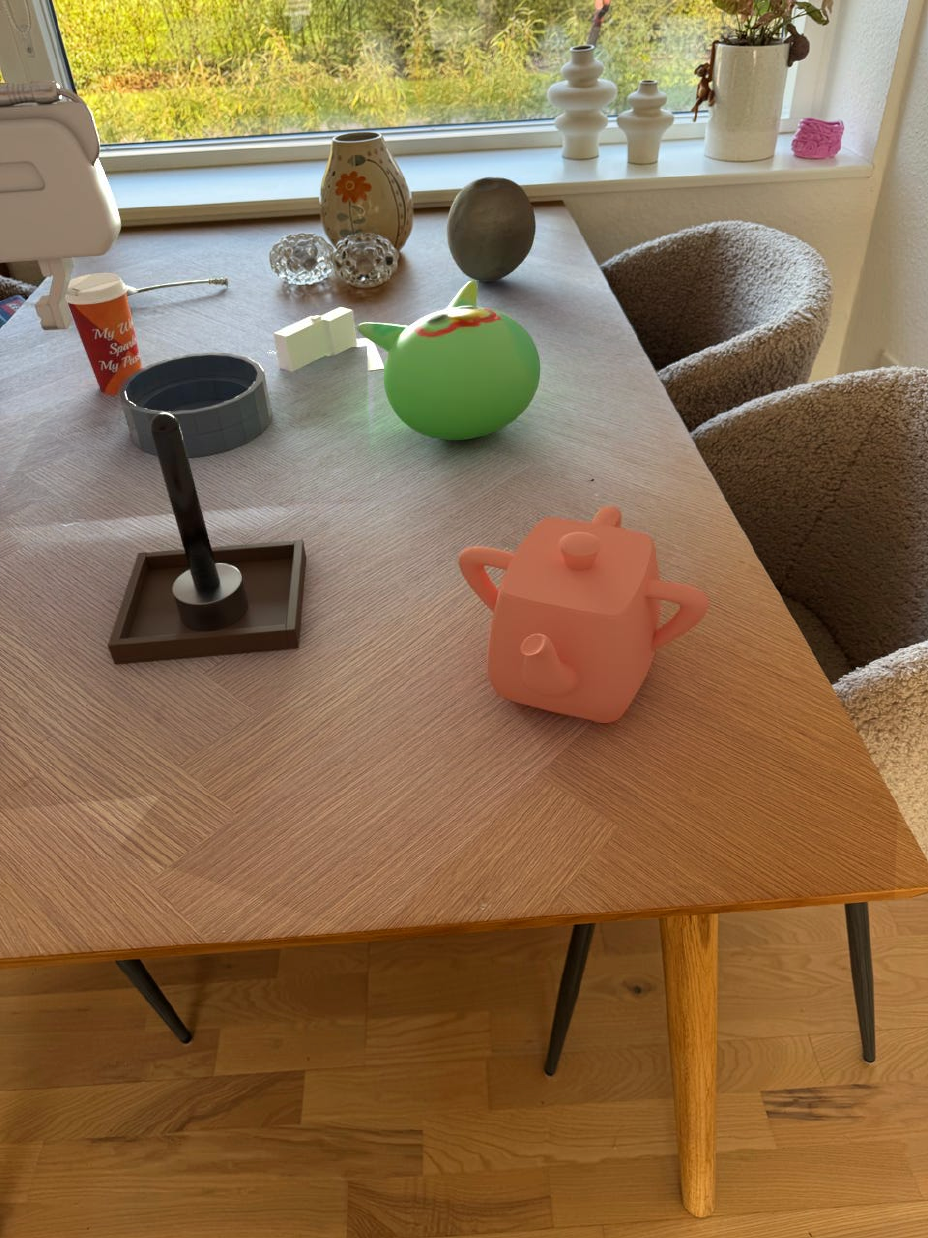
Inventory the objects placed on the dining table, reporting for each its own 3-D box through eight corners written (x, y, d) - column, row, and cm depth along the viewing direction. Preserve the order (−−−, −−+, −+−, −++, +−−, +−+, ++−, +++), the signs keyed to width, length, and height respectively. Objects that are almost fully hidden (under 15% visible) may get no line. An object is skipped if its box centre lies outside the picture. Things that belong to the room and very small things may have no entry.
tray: (114, 664, 78) (107, 645, 77) (143, 570, 89) (138, 552, 87) (298, 648, 79) (295, 629, 77) (306, 557, 89) (303, 539, 88)
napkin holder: (272, 384, 120) (265, 342, 117) (265, 351, 129) (258, 310, 125) (385, 368, 123) (381, 326, 119) (371, 336, 131) (367, 296, 128)
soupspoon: (90, 305, 148) (91, 321, 143) (83, 284, 146) (84, 300, 141) (226, 279, 152) (232, 294, 148) (222, 259, 150) (227, 273, 145)
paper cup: (121, 407, 117) (88, 297, 108) (81, 395, 120) (45, 287, 111) (167, 383, 122) (139, 276, 113) (126, 372, 125) (96, 267, 116)
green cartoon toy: (435, 480, 100) (426, 349, 90) (360, 422, 111) (346, 301, 101) (566, 431, 107) (570, 306, 98) (484, 382, 118) (481, 265, 109)
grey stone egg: (433, 290, 144) (427, 188, 135) (468, 262, 154) (465, 164, 145) (518, 300, 140) (518, 194, 130) (548, 269, 150) (550, 169, 140)
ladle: (172, 631, 80) (110, 434, 68) (189, 590, 85) (133, 398, 73) (240, 630, 80) (190, 431, 68) (253, 588, 85) (209, 395, 73)
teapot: (603, 596, 83) (612, 466, 74) (715, 704, 71) (739, 567, 63) (434, 655, 77) (423, 524, 69) (526, 783, 66) (526, 644, 58)
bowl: (119, 467, 105) (104, 419, 101) (146, 402, 118) (133, 357, 114) (266, 456, 105) (257, 407, 102) (277, 392, 118) (268, 347, 114)
